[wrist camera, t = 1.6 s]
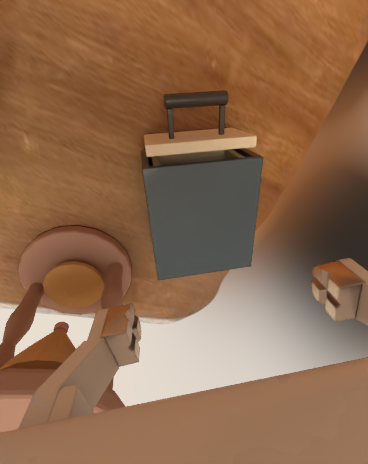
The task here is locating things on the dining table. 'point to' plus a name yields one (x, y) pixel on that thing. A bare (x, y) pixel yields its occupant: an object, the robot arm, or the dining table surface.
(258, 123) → the dining table surface
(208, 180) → the cabinet
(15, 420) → the hourglass
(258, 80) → the dining table surface
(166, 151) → the drawer
